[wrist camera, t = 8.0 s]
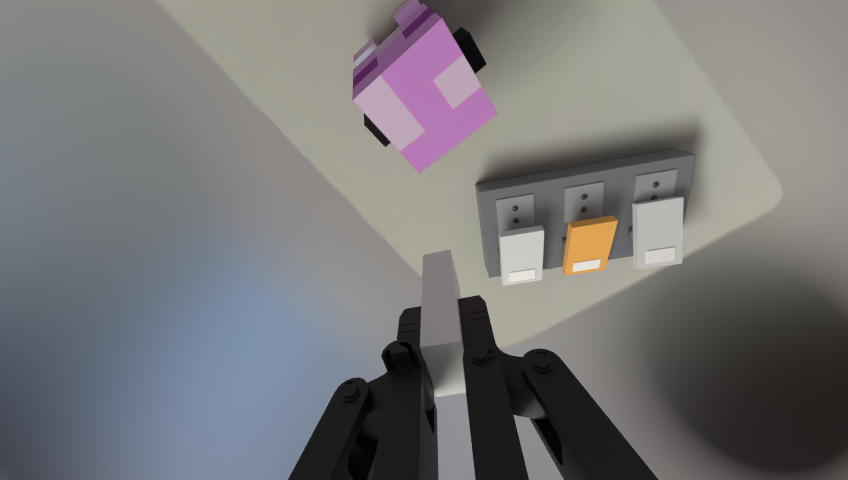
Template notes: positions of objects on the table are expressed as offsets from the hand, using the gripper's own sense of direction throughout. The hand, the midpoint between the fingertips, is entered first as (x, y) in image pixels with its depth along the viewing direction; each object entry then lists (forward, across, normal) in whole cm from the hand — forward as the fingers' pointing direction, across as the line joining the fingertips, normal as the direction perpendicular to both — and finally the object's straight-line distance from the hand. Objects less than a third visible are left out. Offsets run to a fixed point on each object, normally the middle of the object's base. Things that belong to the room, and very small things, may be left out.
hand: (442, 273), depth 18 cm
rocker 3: (+21, +24, -13) cm, 34 cm away
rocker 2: (+21, +16, -13) cm, 29 cm away
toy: (+25, 0, +9) cm, 27 cm away
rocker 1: (+21, +8, -12) cm, 25 cm away
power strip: (+25, +16, -10) cm, 31 cm away
